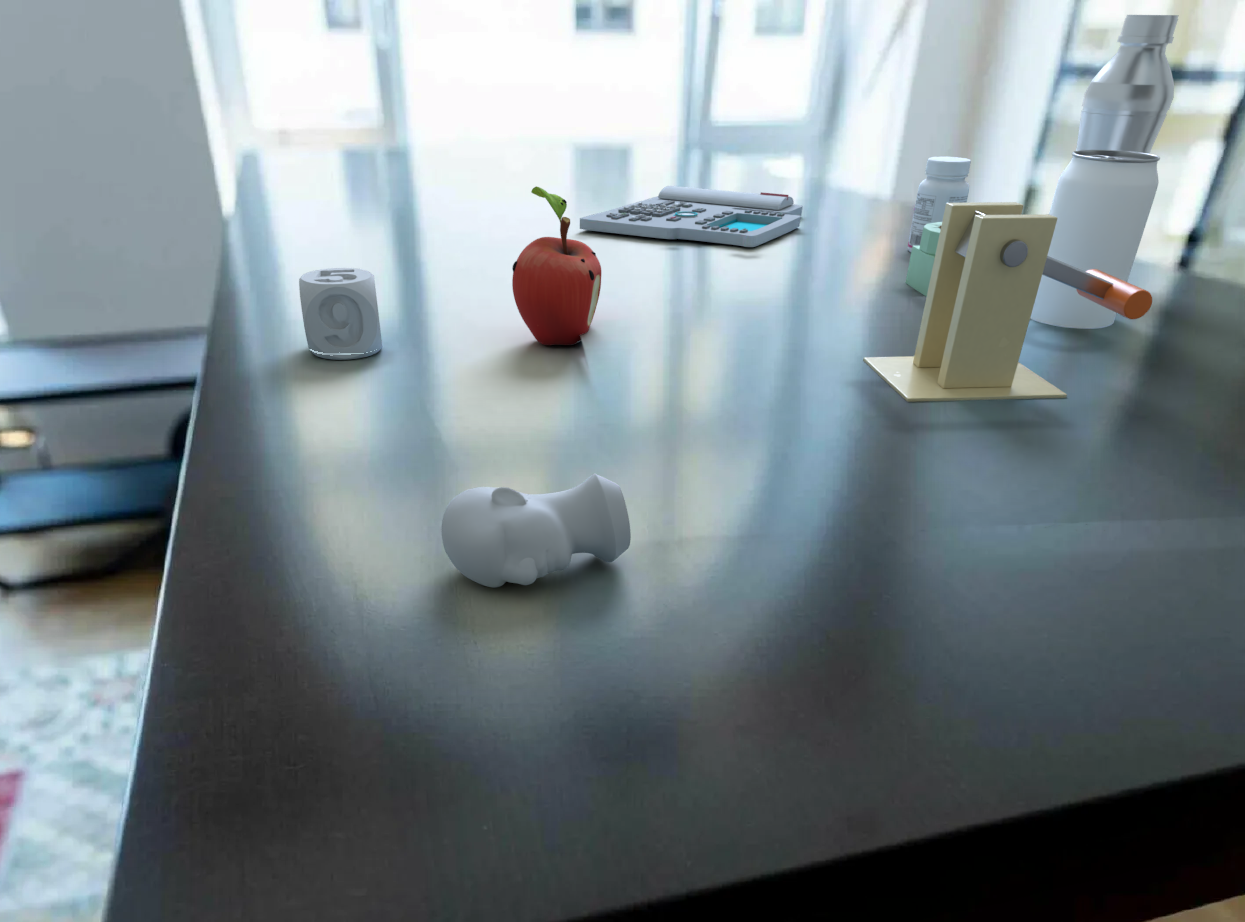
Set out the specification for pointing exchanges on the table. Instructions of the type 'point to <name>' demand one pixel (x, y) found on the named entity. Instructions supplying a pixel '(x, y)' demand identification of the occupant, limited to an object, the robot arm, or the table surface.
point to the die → (340, 312)
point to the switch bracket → (977, 310)
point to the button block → (923, 258)
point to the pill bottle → (938, 193)
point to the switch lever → (1088, 283)
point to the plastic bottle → (1130, 89)
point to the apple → (557, 283)
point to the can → (1096, 229)
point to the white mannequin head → (533, 530)
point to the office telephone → (702, 216)
